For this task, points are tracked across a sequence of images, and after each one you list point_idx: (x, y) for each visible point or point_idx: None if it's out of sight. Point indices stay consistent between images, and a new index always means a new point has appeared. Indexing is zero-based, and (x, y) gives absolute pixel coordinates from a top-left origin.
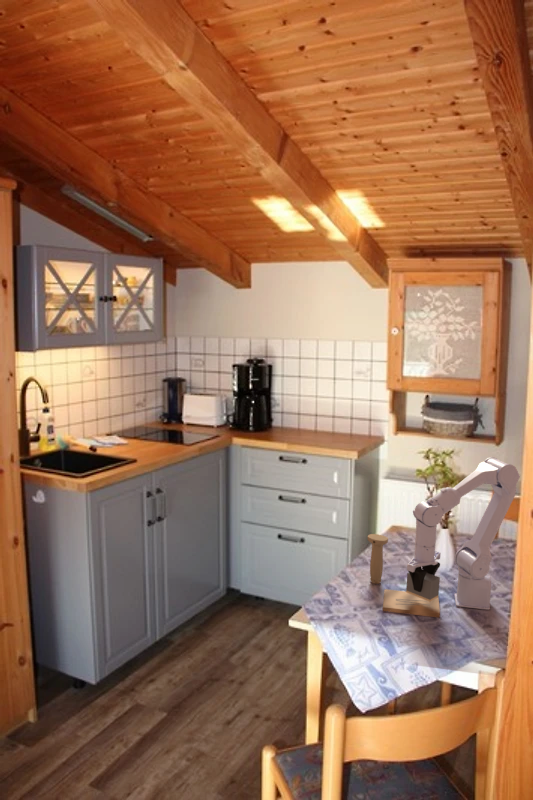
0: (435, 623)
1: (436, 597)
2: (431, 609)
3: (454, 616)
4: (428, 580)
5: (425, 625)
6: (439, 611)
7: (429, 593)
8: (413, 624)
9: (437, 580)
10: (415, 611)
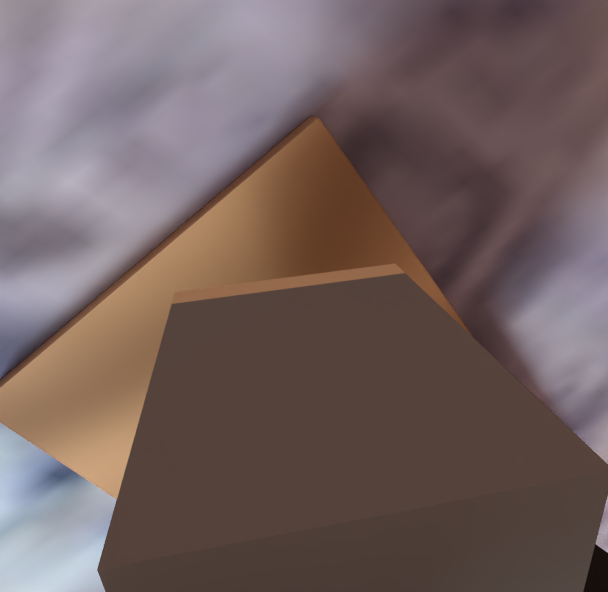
0: (445, 64)
1: (228, 288)
2: (308, 239)
3: (140, 17)
4: (561, 558)
5: (545, 106)
6: (275, 156)
7: (443, 326)
8: (593, 189)
9: (246, 488)
10: (448, 305)
